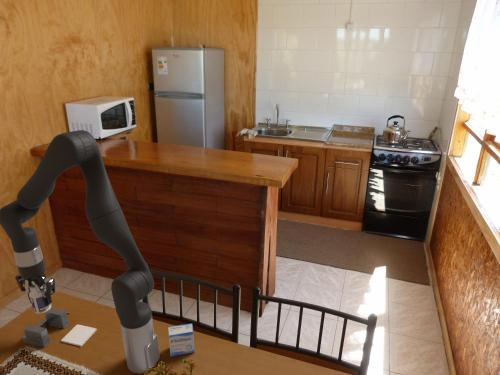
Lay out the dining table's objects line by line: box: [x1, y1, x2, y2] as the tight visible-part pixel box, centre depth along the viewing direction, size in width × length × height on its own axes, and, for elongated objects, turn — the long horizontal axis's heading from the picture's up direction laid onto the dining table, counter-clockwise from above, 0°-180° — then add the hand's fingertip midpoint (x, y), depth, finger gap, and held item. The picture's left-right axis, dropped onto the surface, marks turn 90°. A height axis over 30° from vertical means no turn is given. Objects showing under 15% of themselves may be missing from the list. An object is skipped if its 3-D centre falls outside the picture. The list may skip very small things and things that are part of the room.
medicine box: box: [167, 323, 196, 357], centre depth 122 cm, size 8×4×9 cm, turn 104°
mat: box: [60, 324, 98, 347], centre depth 129 cm, size 8×8×1 cm
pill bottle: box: [29, 285, 52, 315], centre depth 125 cm, size 5×5×10 cm
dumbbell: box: [21, 307, 70, 349], centre depth 131 cm, size 9×14×6 cm, turn 164°
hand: (41, 302), depth 126 cm, fingers closed on pill bottle, 5 cm apart
